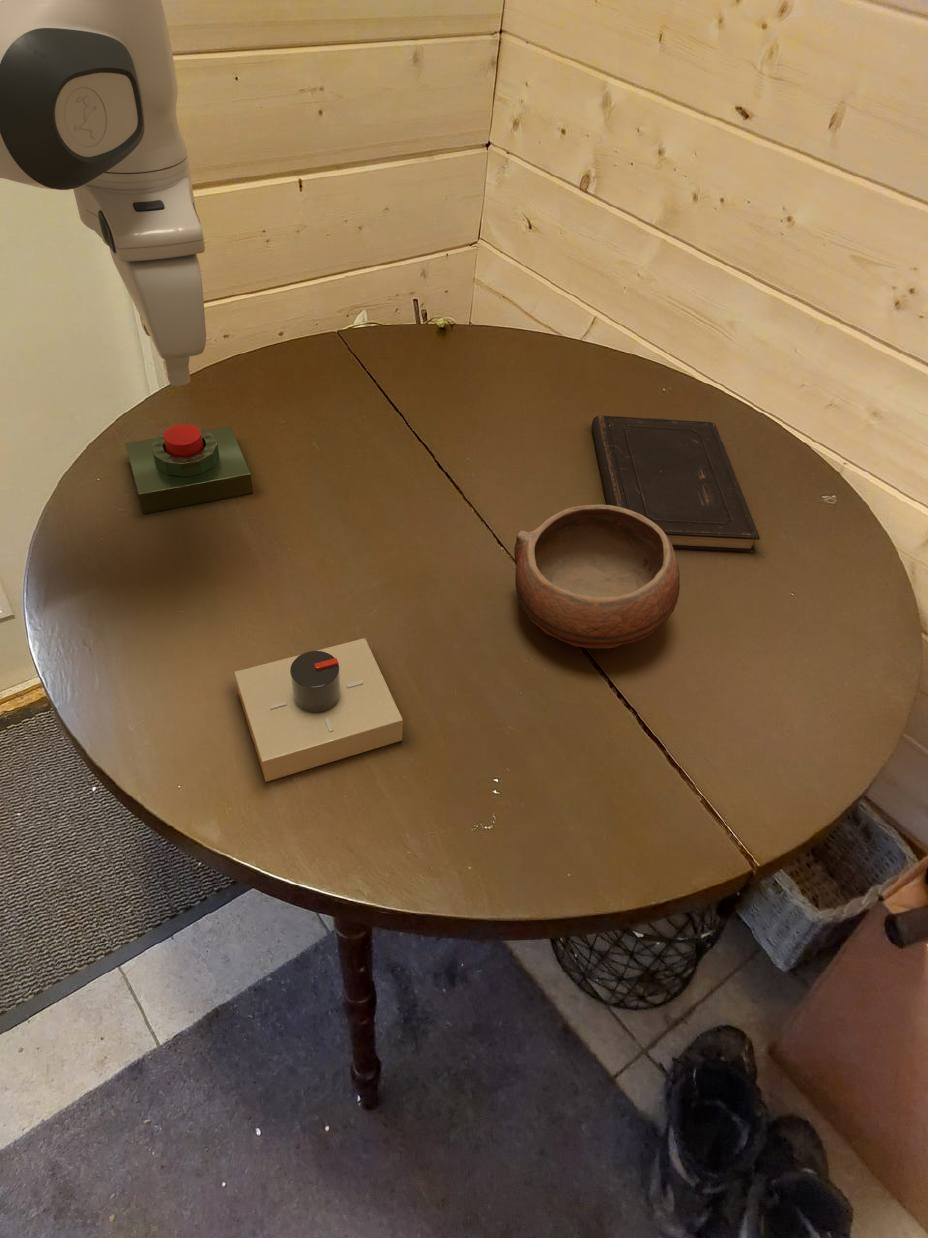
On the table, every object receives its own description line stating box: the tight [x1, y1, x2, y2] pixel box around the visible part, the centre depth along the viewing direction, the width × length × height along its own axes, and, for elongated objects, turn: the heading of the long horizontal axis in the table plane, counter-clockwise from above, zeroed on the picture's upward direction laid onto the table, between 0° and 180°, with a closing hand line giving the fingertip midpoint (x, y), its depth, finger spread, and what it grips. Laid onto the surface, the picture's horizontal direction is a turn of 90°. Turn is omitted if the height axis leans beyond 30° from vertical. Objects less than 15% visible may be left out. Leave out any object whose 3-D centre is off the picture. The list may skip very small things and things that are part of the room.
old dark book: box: [591, 414, 761, 554], centre depth 100 cm, size 16×23×2 cm
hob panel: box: [234, 637, 404, 783], centre depth 72 cm, size 12×10×3 cm
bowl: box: [513, 504, 681, 649], centre depth 81 cm, size 16×16×10 cm
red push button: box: [163, 424, 203, 457], centre depth 92 cm, size 4×4×2 cm
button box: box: [125, 425, 254, 515], centre depth 94 cm, size 12×10×4 cm
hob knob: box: [290, 650, 341, 713], centre depth 70 cm, size 4×4×4 cm
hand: (166, 355), depth 75 cm, fingers open, 8 cm apart
